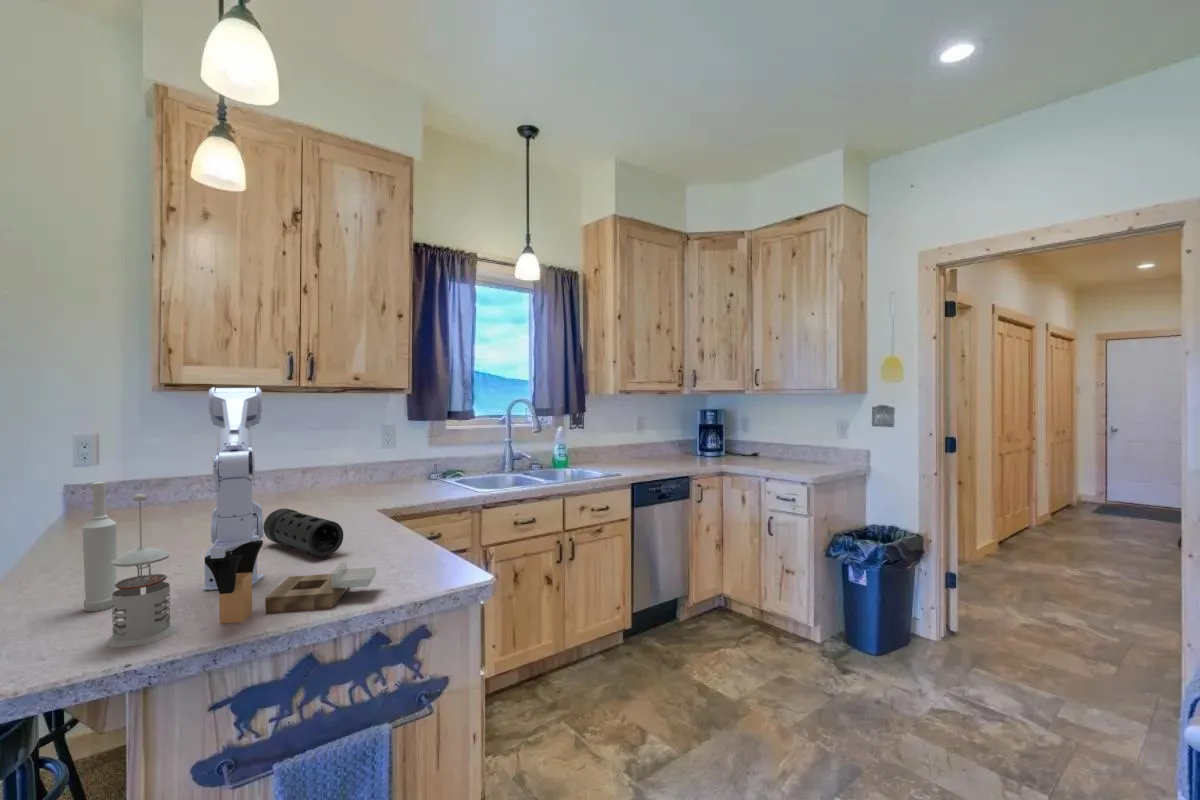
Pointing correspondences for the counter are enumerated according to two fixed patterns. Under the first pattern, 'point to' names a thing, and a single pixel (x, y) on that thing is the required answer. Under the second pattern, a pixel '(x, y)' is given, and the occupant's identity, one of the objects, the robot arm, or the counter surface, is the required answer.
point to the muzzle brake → (303, 532)
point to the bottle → (99, 554)
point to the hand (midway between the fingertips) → (235, 586)
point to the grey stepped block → (351, 576)
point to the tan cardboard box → (237, 600)
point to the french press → (141, 598)
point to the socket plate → (303, 594)
